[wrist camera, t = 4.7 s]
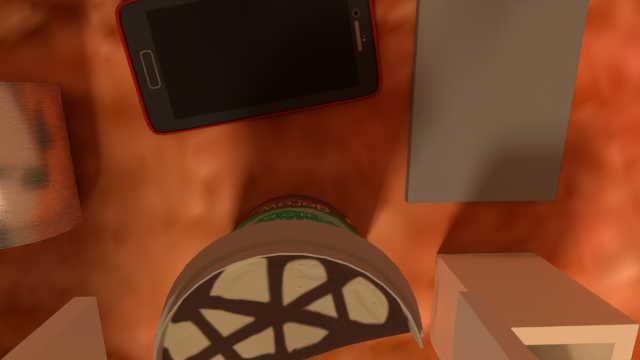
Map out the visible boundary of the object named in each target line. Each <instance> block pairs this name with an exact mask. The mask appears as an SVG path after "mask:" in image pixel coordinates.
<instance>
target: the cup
mask: <svg viewBox="0 0 640 360" xmlns="http://www.w3.org/2000/svg"><path fill="white" fill-rule="evenodd" d="M460 291H480V293H481V294H482V295H483V296H484V297H485V298H486V300H487V301H488V302H489V303H490V304H491V306H492V307H493V308H494V309H495V310H496V311H497V313H498V314H499V315H500V316H501V317H502V318H503V320H504V321H505V322H506V323H507V324H508V325H509V327H510V328H511V329H512V330H513V331H514V332H515V334H516V335H517V336H518V337H519V338H520V339H521V341H522V342H523V343H524V344H525V345H526V347H527V348H528V349H529V350H530V351H531V352H532V354H533V355H534V356H535V357H536V358H537V359H538V360H631V356H632V352H633V348H634V344H635V340H636V336H637V332H638V328H639V324H638V323H637V322H635V321H634V320H632V319H631V318H630V317H628V316H627V315H625V314H624V313H622V312H621V311H619V310H618V309H616V308H615V307H613V306H612V305H610V304H609V303H608V302H606V301H605V300H603V299H602V298H600V297H599V296H597V295H596V294H594V293H593V292H591V291H590V290H588V289H587V288H586V287H584V286H583V285H581V284H580V283H578V282H577V281H575V280H574V279H572V278H571V277H569V276H568V275H567V274H565V273H564V272H562V271H561V270H559V269H558V268H556V267H555V266H553V265H552V264H550V263H549V262H547V261H546V260H545V259H543V258H542V257H540V256H539V255H537V254H536V253H534V252H515V253H462V254H437V259H436V271H435V283H434V294H433V306H432V318H431V329H430V341H431V343H432V345H433V347H434V349H435V351H436V353H437V355H438V357H439V359H440V360H454V358H453V356H452V349H453V340H454V330H455V321H456V312H457V302H458V293H459V292H460Z"/></svg>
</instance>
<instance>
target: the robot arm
mask: <svg viewBox="0 0 640 360" xmlns="http://www.w3.org/2000/svg"><path fill="white" fill-rule="evenodd" d="M452 356H453V358H454V360H538V359H537V358H536V357H535V356H534V355H533V354H532V352H531V351H530V350H529V349H528V348H527V347H526V345H525V344H524V343H523V342H522V341H521V339H520V338H519V337H518V336H517V335H516V334H515V332H514V331H513V330H512V329H511V328H510V327H509V325H508V324H507V323H506V322H505V321H504V320H503V318H502V317H501V316H500V315H499V314H498V313H497V311H496V310H495V309H494V308H493V307H492V306H491V304H490V303H489V302H488V301H487V300H486V298H485V297H484V296H483V295H482V294H481V293H480V291H460V292H459V293H458V302H457V312H456V321H455V330H454V340H453V349H452ZM1 360H107V355H106V350H105V344H104V338H103V333H102V327H101V321H100V316H99V310H98V304H97V299H96V297H74V298H73V299H71V300H70V301H69V302H68V303H67V304H66V305H64V306H63V307H62V308H61V309H60V310H59V311H57V312H56V313H55V314H54V315H53V316H52V317H50V318H49V319H48V320H47V321H46V322H44V323H43V324H42V325H41V326H40V327H39V328H37V329H36V330H35V331H34V332H33V333H32V334H30V335H29V336H28V337H27V338H26V339H25V340H23V341H22V342H21V343H20V344H19V345H17V346H16V347H15V348H14V349H13V350H12V351H10V352H9V353H8V354H7V355H6V356H5V357H3V358H2V359H1Z"/></svg>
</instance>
